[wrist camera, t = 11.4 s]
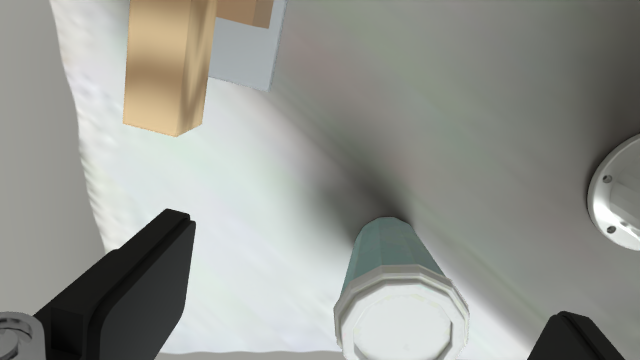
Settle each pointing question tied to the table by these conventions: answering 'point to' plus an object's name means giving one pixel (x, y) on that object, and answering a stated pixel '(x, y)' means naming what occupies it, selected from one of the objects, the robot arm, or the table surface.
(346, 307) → the disposable coffee cup
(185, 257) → the robot arm
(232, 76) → the stand
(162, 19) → the oak bar
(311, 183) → the table surface
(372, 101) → the table surface
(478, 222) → the table surface
